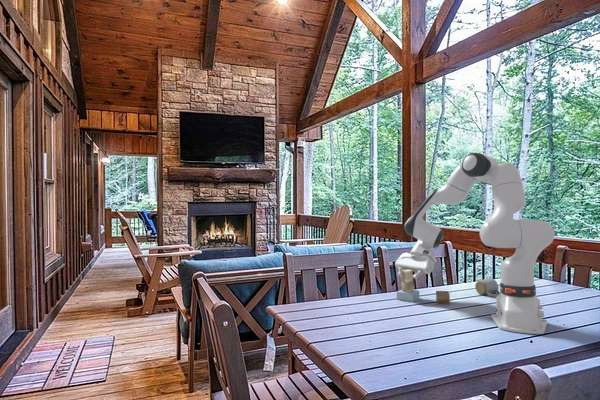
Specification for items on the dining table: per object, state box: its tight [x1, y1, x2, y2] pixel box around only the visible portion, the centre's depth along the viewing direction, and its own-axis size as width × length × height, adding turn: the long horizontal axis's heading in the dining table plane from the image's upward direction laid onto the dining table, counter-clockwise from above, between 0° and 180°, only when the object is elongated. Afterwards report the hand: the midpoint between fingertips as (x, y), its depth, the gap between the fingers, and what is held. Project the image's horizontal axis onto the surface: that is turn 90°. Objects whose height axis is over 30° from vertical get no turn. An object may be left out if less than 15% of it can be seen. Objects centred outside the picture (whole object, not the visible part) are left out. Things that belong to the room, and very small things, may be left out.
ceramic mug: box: [474, 277, 501, 298], centre depth 184 cm, size 11×8×8 cm
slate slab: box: [396, 289, 420, 303], centre depth 181 cm, size 8×8×4 cm
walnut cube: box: [435, 290, 451, 306], centre depth 172 cm, size 5×5×5 cm
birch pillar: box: [400, 269, 415, 292], centre depth 181 cm, size 4×4×10 cm
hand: (406, 276), depth 180 cm, fingers open, 8 cm apart
